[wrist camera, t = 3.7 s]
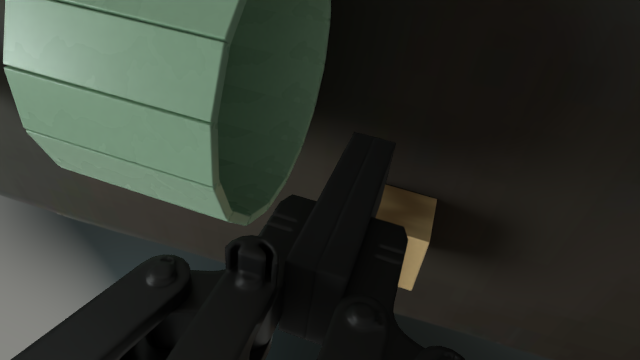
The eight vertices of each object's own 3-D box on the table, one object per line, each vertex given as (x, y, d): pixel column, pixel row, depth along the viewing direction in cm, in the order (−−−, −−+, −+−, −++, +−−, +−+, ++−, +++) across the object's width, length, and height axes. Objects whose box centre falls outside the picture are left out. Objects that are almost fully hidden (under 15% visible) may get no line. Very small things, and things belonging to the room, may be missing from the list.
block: (437, 198, 29) (429, 242, 26) (420, 245, 32) (411, 291, 28) (372, 180, 30) (357, 220, 27) (361, 227, 33) (346, 269, 29)
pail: (347, -108, 21) (201, -94, 11) (314, 148, 30) (217, 295, 20) (193, -133, 23) (-69, -143, 12) (205, 118, 32) (60, 238, 21)
